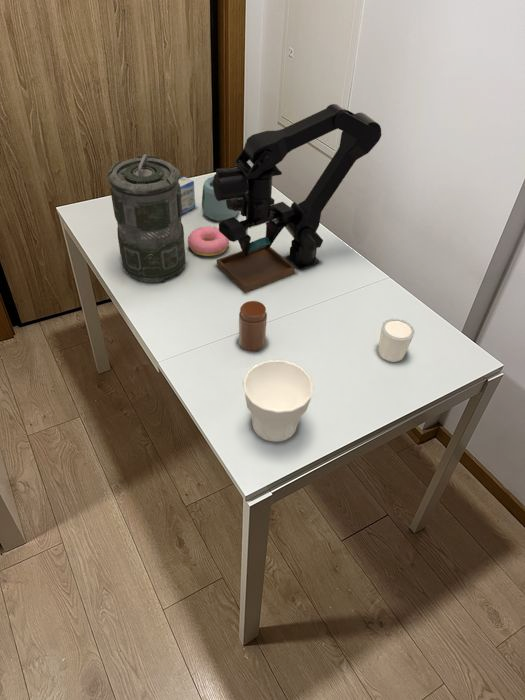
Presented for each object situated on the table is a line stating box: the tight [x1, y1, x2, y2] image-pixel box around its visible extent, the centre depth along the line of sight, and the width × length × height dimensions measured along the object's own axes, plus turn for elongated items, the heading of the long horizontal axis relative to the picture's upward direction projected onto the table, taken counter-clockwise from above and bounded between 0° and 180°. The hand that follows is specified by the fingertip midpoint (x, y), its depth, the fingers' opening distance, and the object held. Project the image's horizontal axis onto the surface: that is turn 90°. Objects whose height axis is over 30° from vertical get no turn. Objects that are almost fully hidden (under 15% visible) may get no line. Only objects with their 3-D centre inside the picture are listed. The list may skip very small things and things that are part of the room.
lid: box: [248, 236, 271, 254], centre depth 131 cm, size 7×7×2 cm
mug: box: [201, 176, 240, 222], centre depth 154 cm, size 15×11×10 cm
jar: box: [238, 300, 268, 352], centre depth 114 cm, size 6×6×10 cm
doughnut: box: [187, 226, 230, 257], centre depth 142 cm, size 11×11×4 cm
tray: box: [216, 246, 296, 294], centre depth 136 cm, size 15×13×2 cm
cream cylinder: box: [377, 318, 415, 363], centre depth 114 cm, size 7×7×7 cm
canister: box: [107, 153, 186, 283], centre depth 126 cm, size 16×16×28 cm
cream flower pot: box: [242, 359, 315, 442], centre depth 97 cm, size 12×12×11 cm
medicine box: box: [178, 176, 196, 215], centre depth 153 cm, size 8×4×9 cm, turn 141°
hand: (256, 251), depth 133 cm, fingers closed on lid, 6 cm apart
